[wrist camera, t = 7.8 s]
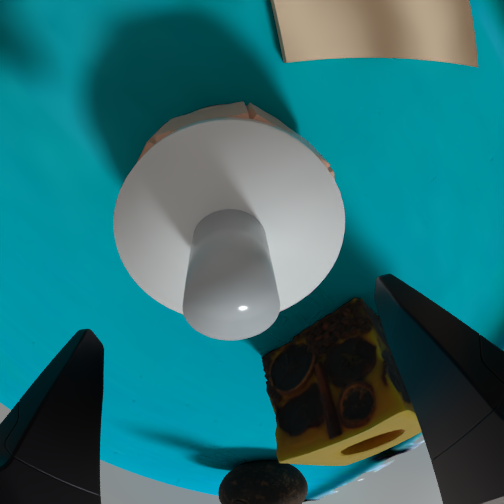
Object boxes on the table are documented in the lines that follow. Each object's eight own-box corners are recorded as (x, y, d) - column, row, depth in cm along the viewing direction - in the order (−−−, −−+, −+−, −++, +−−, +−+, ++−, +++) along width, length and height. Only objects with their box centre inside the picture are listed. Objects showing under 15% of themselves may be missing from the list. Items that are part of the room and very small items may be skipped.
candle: (259, 355, 25) (271, 463, 17) (356, 290, 21) (406, 408, 13) (323, 385, 30) (341, 468, 22) (403, 337, 26) (440, 423, 18)
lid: (325, 96, 9) (386, 122, 6) (340, 285, 14) (369, 358, 11) (88, 158, 10) (26, 215, 6) (167, 319, 15) (156, 395, 11)
